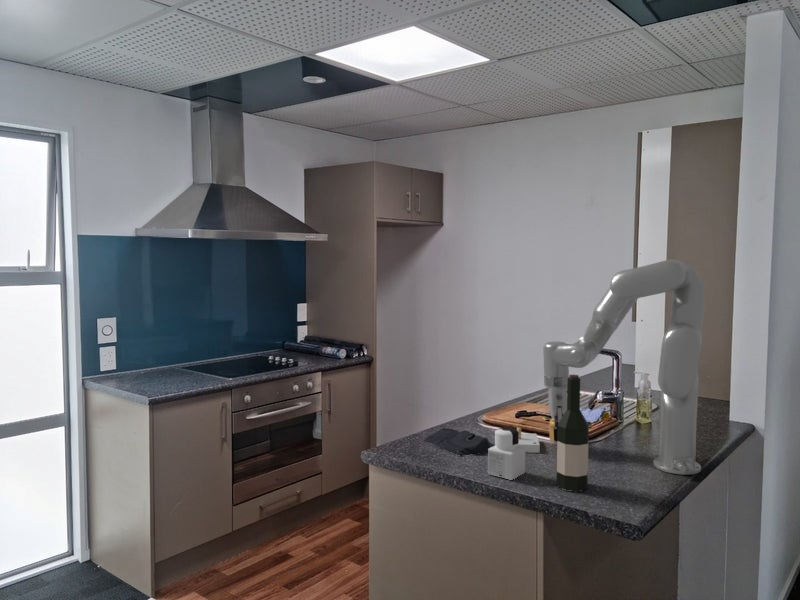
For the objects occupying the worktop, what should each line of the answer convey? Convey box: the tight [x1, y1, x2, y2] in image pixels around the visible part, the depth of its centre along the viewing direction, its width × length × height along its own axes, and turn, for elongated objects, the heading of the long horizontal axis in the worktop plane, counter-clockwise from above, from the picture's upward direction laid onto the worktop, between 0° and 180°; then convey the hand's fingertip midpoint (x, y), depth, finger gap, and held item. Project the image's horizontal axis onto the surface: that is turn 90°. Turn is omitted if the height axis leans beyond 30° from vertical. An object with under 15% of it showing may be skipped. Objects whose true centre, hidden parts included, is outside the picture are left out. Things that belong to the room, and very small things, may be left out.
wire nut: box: [548, 417, 558, 443], centre depth 196 cm, size 5×5×7 cm
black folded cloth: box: [423, 428, 495, 457], centre depth 202 cm, size 15×22×5 cm
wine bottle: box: [556, 374, 590, 491], centre depth 165 cm, size 8×8×30 cm
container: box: [487, 427, 526, 481], centre depth 175 cm, size 8×8×13 cm
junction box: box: [516, 426, 541, 454], centre depth 203 cm, size 18×12×6 cm, turn 173°
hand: (558, 437), depth 196 cm, fingers closed on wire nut, 5 cm apart
